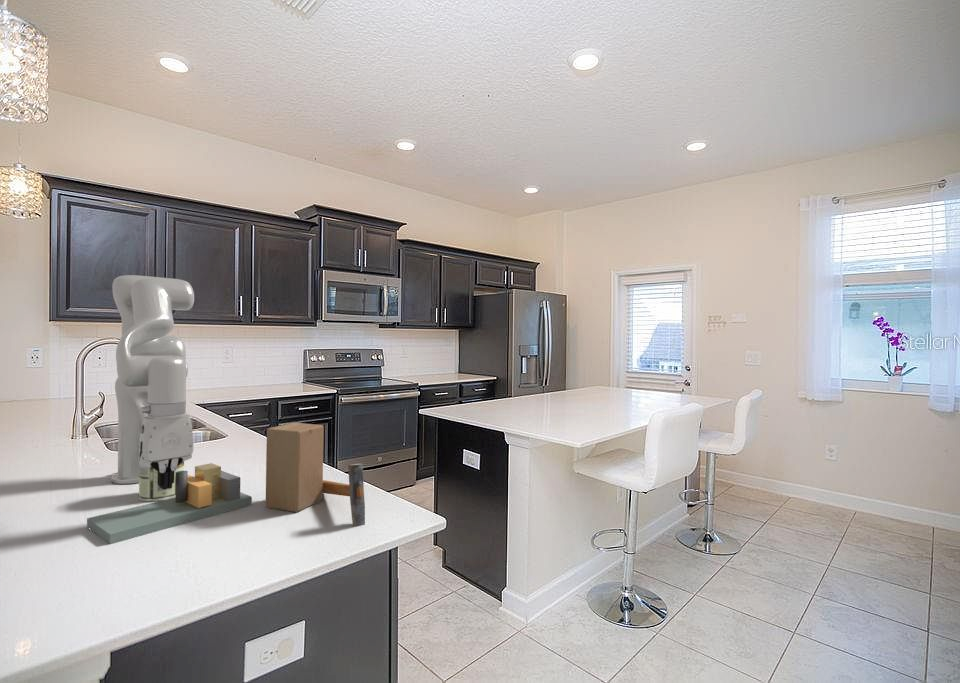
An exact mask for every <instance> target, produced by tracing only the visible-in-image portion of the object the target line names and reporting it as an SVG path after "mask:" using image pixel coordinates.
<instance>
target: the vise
mask: <svg viewBox="0 0 960 683" xmlns="http://www.w3.org/2000/svg"><path fill="white" fill-rule="evenodd" d="M252 497H253V496H251V495H248V494H247V493H244V492H241V477H240V476H237V475H235V474H231V473H229V472H227V471H224V470H221V498H219V499H216V500H212V505H208V506H205V507H201V508H197V507H195V506H193V505H191V504H188V503H186V502H182V503H176V502H175V498H176V497H175V498H171V499H167V500H162V501H153V502H151V503H150V502H149V503H147V504H142V505H138V506H134V507H130V508H129V507H128V508H124V509H121V510H120V509H119V510H116V511H113V512H108V513H107V512H106V513H103V514H101V515H100V514H99V515H95V516H91V517H86V528H87V527H88V528H87V529H89V528H90V529H91V530H92V532H93V533H94V532H95V533H96V534H95V533H94V534H95V535H97V536H98V535H99V537H100V538H101V539H102V540H104V541H105V542H106V543H108V544H109V545H112V544H115V543H119V542H123V541H127V540H131V539H133V538H137V537H140V536H144V535H147V534H152V533H155V532H157V531H162V530H165V529H166V530H167V529H169V528H172V527H176V526H179V525H183V524H187V523H190V522H194V521H197V520H201V519H205V518H209V517H213V516H216V515H219V514H222V513H225V512H230V511H234V510H236V509H240V508H244V507H247V506H251V505H252V504H253V498H252ZM90 529H89V530H90ZM91 530H90V531H91Z"/></svg>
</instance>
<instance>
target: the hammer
mask: <svg viewBox="0 0 960 683" xmlns="http://www.w3.org/2000/svg"><path fill="white" fill-rule="evenodd" d="M347 466H348V468H347V469H348V482H349V484H347V483H342V482H336V481H330V480H324V479H323V491H322V494H327V495H334V496H335V495H336V496H342V497H343V496H344V497H349V500H350V501H349V504H350V512H351V521H352V523H351V524H352V526H353V527H357V526H362V525H365V523H366V501H365V500H366V499H365V485H364V484H365V483H364V471H363V470H364V468H363V463H354V464H353V463H352V464H348V465H347Z"/></svg>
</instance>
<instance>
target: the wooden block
mask: <svg viewBox="0 0 960 683" xmlns="http://www.w3.org/2000/svg"><path fill="white" fill-rule="evenodd" d="M324 428H325V427H324V425H321V424H313V423H303V422H291V423H285V424H281V425H277V426H273V427H269V428H267V429H266V451H265V453H266V455H265V457H266V458H265V459H266V462H265V467H266V468H265V508H269V509H276V510H281V511H288V512H293V513H299V512H301V511H303V510H305V509H307V508H309V507H311V506H313V505H315V504H317V503H319V502H321V501H322V500H323V493H322V491H323V480H324V436H325V435H324Z"/></svg>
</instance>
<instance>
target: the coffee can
mask: <svg viewBox="0 0 960 683" xmlns="http://www.w3.org/2000/svg"><path fill="white" fill-rule="evenodd" d="M139 461H140V456H139ZM167 462H168V460H164V463H165V469H166V467H167ZM178 471H185V461H183V462H181V464H180V465H179V466H178V467H177V469H176V470H175V471H174V483H172V488H170V489H169V488H167V489H165V490H164V489H162V488H160V486H158V471H156V470H155V469H154V468H152V467H141V466H139V483H138V500H139V501H143V502H158V501H162V500H167V499H171V498H175V497H176V472H178Z"/></svg>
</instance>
